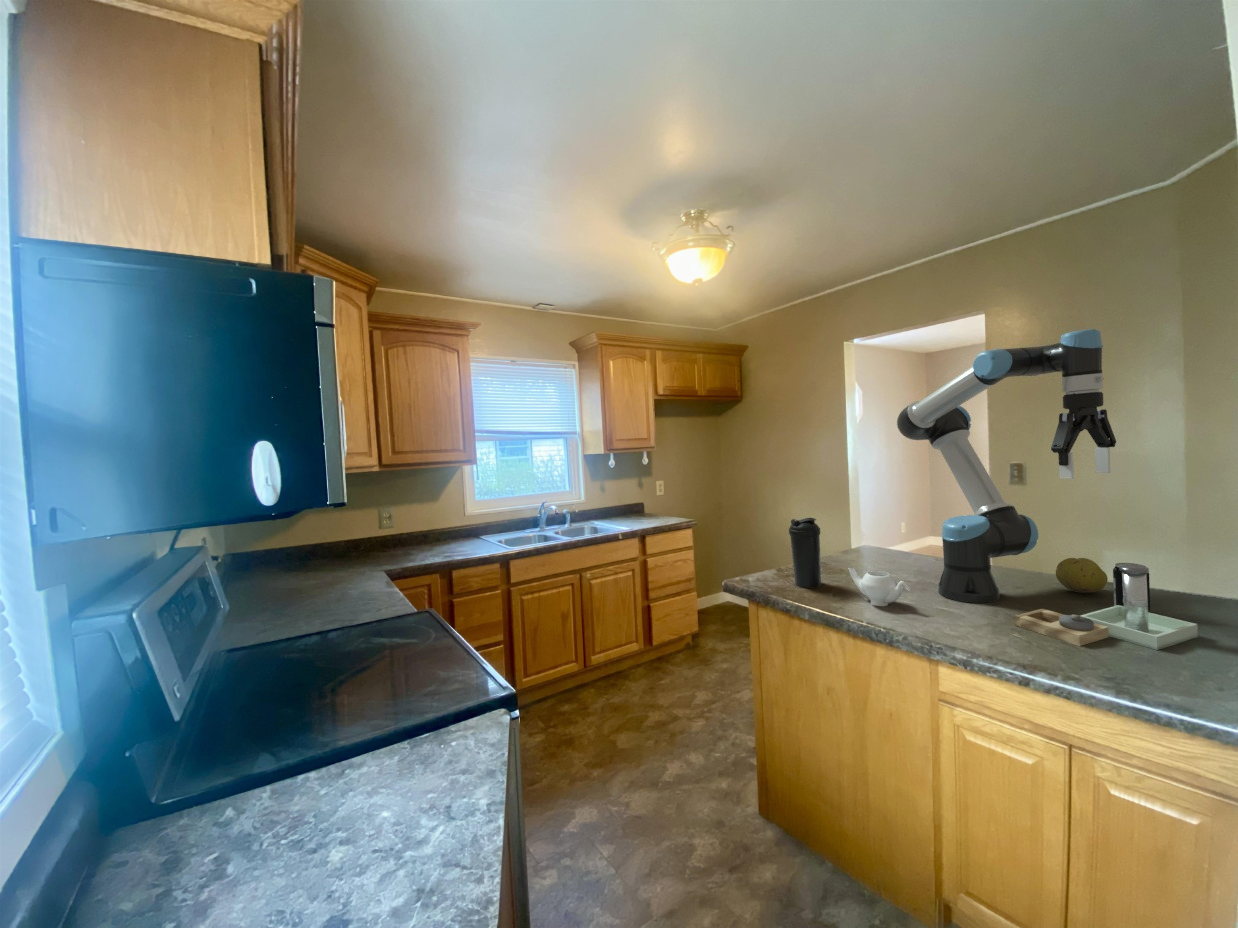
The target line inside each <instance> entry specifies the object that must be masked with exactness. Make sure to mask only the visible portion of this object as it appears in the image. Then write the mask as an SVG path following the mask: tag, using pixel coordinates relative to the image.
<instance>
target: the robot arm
mask: <svg viewBox="0 0 1238 928" xmlns="http://www.w3.org/2000/svg"><path fill="white" fill-rule="evenodd" d="M1102 343H1103V342H1102V333H1101V331H1100V330H1099V329H1096V328H1092V329H1091V328H1090V329H1088V328H1087V329H1081V330H1075V331H1070V332H1066V333H1063V334H1062V335H1061V336H1060V341H1059V342H1058V343H1053V344H1047V345H1041V346H1028V347H1018V348H1017V347H1016V348H1014V347H1013V348H995V349H990V350H985V351H981V352H979V353H978V354H977V356H976V357H975V359H974V360H973V363H972V366H970V367H969V368H967V369H966V370H964V371H963V372H961V373H960V374H959V375H957V376H955V377H954V378H952V379H951V380H950V381H948V382H946V383H945V384H943V386H941V387H940V388H938V389H937V390H935V391H934V392H932V393H930V394H929V395H928V396H926V397H924V398H923V399H922V400H919V401H912V403H910V404H909V405H907V406H906V407H904V408H903V409H902V410H901V411H900V413H899V414H898V417H897V420H896V427H897V429H898V432H900V434H902V436H904V438H907V439H909V440H913V441H926V440H927V441H928V442H929V443H930V446H931V447H932V448H933V449H935V450H938V451H939V452H940V453H941V455H942V457H943V459H944V461H945V462H946V463H947V466H948V467H949V469H950V471H951V473H952V474H953V476H954V479H955V480H956V483H957V484H958V486H959V488H960V490H961V492H962V493H963V495H964V497H965V498H966V500H967V502H968V504H969V506H970V508H971V510H972V511H973V514H968V515H967V514H966V515H959V516H953V517H950V518H948V519H946V520H944V522H943V523H942V529H941V530H942V531H941V538H942V551H943V553H942V554H943V571H942V573H941V576H940V580H939V582H938V588H937V589H938V593H939V595H941V596H942V597H944V598H947V599H951V600H954V601H959V602H964V603H977V604H982V603H983V604H984V603H993V602H997V601H998V600H999V599H1000V595H1001V594H1000V589H999V587H998V585H997V582H996V580H995V577H994V575H993V573H992V565H991V564H992V563H991V559H994V558H995V559H996V558H1001V557H1002V558H1003V557H1007V556H1018V555H1021V554H1024V553H1028V552H1030V551H1031V550H1033V549H1034V548H1035V547H1036V545H1037V544H1038V543H1037V542H1038V540H1039V530H1038V527H1037V524H1036V523H1035V521H1034V520H1033V519H1032V518H1031V517H1029V516H1026V515H1024V514H1019V512H1018V511H1017V509H1016V507H1015V506H1014V505H1013V504H1009V503H1006V502H1005V501H1004V498H1003V497H1002V495H1001V493H1000V491H999V490H998V488H997V486H996V485H995V483H994V481H993V480H992V478H991V476H990V475H989V472H988V471H987V469H986V468H985V466H984V464H983V463H982V461H981V459H980V457H979V456H978V454H977V452H976V451H975V449H974V447H973V446H972V444H971V442H970V440H969V436H970V435H971V431H970V429H971V425H972V424H971V422H972V419H971V415H970V413H969V412H968V410H967V409H965V408H964V407H963V406H961V405H963V404H964V403H966V402H968V401H969V400H971V399H972V398H974V397H976V396H978V395H979V394H981V393H982V392H984V391H986V390H987V389H989V388H990V387H992V386H994V385H996V384H998V383H1000V382H1001V381H1003V380H1004V379H1006V378H1011V377H1032V376H1034V377H1035V376H1040V375H1045V374H1046V375H1047V374H1053V373H1060V372H1061V375H1062V377H1061V379H1062V380H1061V386H1062V388H1061V391H1062V393H1063V394H1064V393H1065V394H1064V395H1063V396H1062V408H1063V409H1064V410H1068V412H1061V413H1059V414H1058V424H1057V428H1056V431H1055V432H1054V433H1055V434H1054V437H1053V439H1052V440H1053V441H1052V444H1051V447H1050V450H1051V451H1052V452H1053V453H1056V454H1057V455H1058V456H1057V457H1058V475H1059V479H1067V480H1068V479H1071V480H1072V479H1073V480H1074V478H1075V477H1074V476H1075V475H1074V474H1075V473H1074V472H1075V471H1074V469H1075V468H1074V452H1072V449H1073V447H1074V445H1075V443H1076V441H1077V439H1078V438H1079V436H1080V433H1081V432H1083V431H1084V430H1086V431H1087V432H1088V435H1090V437H1091V438H1092V440H1093V442H1094V443H1095V444H1096V446H1097V447H1095V448H1094V461H1095V462H1094V465H1095V473H1100V474H1110V473H1111V457H1110V456H1111V455H1110V454H1111V453H1110V448H1115V447H1116V444H1117V439H1116V436H1115V434H1114V432H1113V428H1112V426H1111V424H1110V421H1109V419H1108V410H1107V409H1106V408H1105V409H1098V408H1099V407H1100V408H1101V407H1103V406H1104V392H1102V391H1100V390H1102V389H1103V388H1104V387H1103V385H1104V384H1103V383H1104V377H1103V368H1102V367H1103V365H1102V364H1103V347H1104V346H1103V344H1102Z"/></svg>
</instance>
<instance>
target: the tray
mask: <svg viewBox="0 0 1238 928" xmlns="http://www.w3.org/2000/svg"><path fill="white" fill-rule="evenodd" d="M1079 616H1080V617H1085V618H1088V619H1090V620H1092V621H1093V623H1096V624H1100V625H1103V626H1107V627H1108V630H1109V637H1111V638H1114V639H1118V640H1120V641H1125V642H1128V643H1132V644H1135V645H1137V646H1142V647H1145V648H1148V649H1152V650H1155V651H1159V650H1162V649H1165V648H1168V647H1172V646H1175V645H1178V644H1181V643H1184V642H1187V641H1190V640H1194V639H1197V638H1198V637H1199V634H1198V633H1199V632H1198V623H1194V622H1191V621H1190V622H1189V621H1185V620H1181V619H1177V618H1173V617H1170V616H1165V615H1161V614H1157V613H1152V612H1150V611H1149V612H1148V621H1149V632H1147V633H1145V632H1141V631H1138V630H1134V629H1130V628H1127V627H1125V624H1124V606H1120V605H1117V606H1114V605H1113V606H1111V607H1107V608H1103V609H1099V610H1096V611H1095V610H1094V611H1091V612H1088V613H1084V614H1081V615H1079Z"/></svg>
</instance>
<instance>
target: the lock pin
mask: <svg viewBox="0 0 1238 928" xmlns="http://www.w3.org/2000/svg"><path fill="white" fill-rule="evenodd" d="M1144 566H1145V565H1144ZM1144 566H1138V565H1120V566H1119V568H1120V571H1121V572H1122V581H1123V602H1124V624H1125V627H1127V628H1130V629H1134V630H1138V631H1141V632H1145V633H1147V632H1149V621H1148V598H1147V576H1146V574H1149V575H1150V572H1149V571H1150V570H1149V567H1148V566H1146V567H1144Z"/></svg>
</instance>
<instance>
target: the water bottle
mask: <svg viewBox="0 0 1238 928" xmlns="http://www.w3.org/2000/svg"><path fill="white" fill-rule="evenodd" d="M815 521H817V519H816V518H815V517H806V518H802V519H799V520H798V519H796V518H793V519H791V520H790V523H791V524H790V526H789V527H788V534H789V536H790V547H791V556H792V564H793V577H794V584H795V586H796V587H799V588H803V589H816V588H820V587H821V586H822V580H821V579H822V576H821V573H822V571H821V570H822V568H821V564H822V563H821V547H820V546H821V545H820V544H821V543H820V542H821V541H820V536H821V527H819V525H818V524H817V523H816V522H815Z"/></svg>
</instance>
